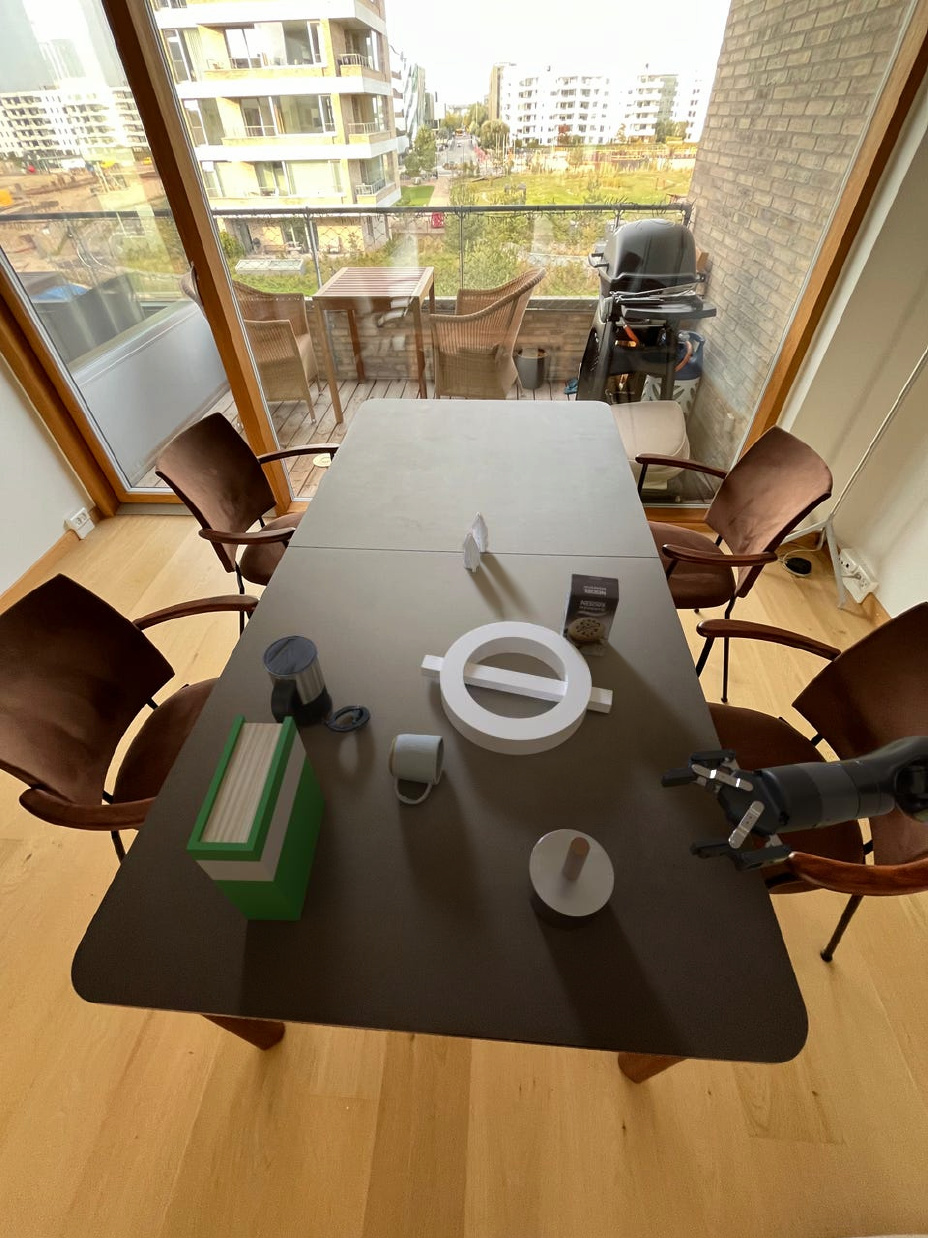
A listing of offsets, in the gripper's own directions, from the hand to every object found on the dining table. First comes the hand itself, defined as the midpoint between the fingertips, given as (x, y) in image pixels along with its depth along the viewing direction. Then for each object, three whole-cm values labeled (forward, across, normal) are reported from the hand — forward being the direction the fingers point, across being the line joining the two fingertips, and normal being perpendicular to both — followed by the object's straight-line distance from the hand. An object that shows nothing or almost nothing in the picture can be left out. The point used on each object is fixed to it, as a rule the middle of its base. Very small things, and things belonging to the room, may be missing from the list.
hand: (677, 813), depth 66 cm
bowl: (+11, 0, +22) cm, 24 cm away
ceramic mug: (+30, -22, +22) cm, 43 cm away
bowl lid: (+11, 0, +14) cm, 18 cm away
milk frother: (+46, -37, +22) cm, 63 cm away
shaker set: (+11, -79, +21) cm, 82 cm away
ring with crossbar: (+11, -37, +21) cm, 44 cm away
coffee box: (-6, -47, +21) cm, 52 cm away
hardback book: (+51, -11, +22) cm, 56 cm away
